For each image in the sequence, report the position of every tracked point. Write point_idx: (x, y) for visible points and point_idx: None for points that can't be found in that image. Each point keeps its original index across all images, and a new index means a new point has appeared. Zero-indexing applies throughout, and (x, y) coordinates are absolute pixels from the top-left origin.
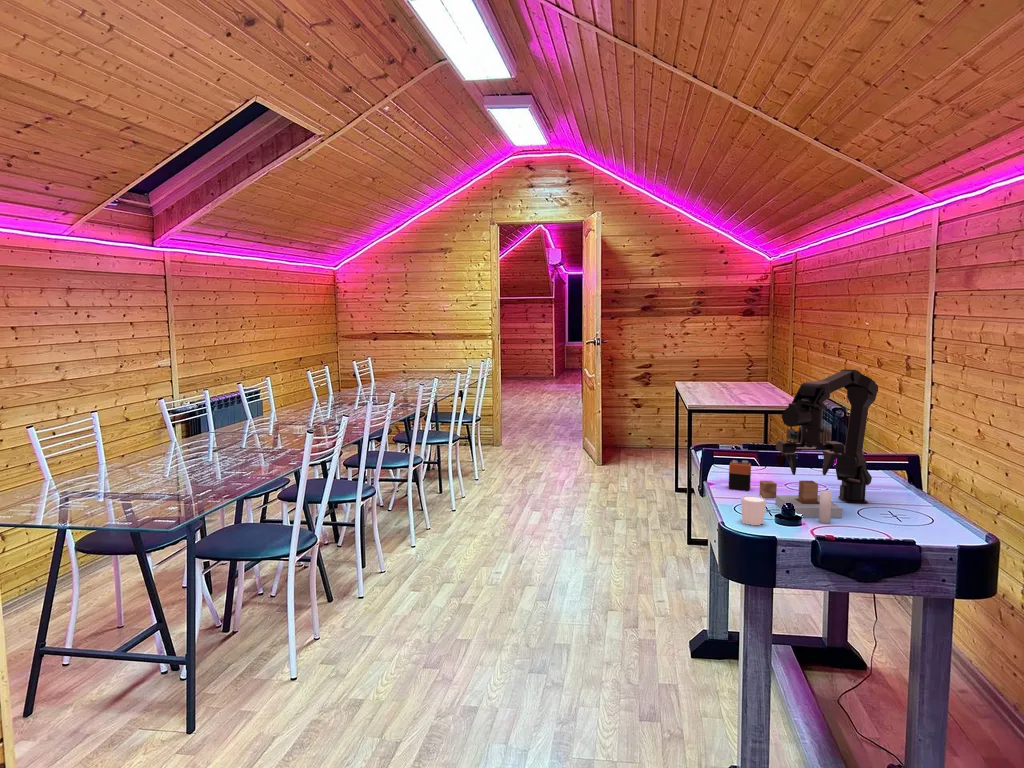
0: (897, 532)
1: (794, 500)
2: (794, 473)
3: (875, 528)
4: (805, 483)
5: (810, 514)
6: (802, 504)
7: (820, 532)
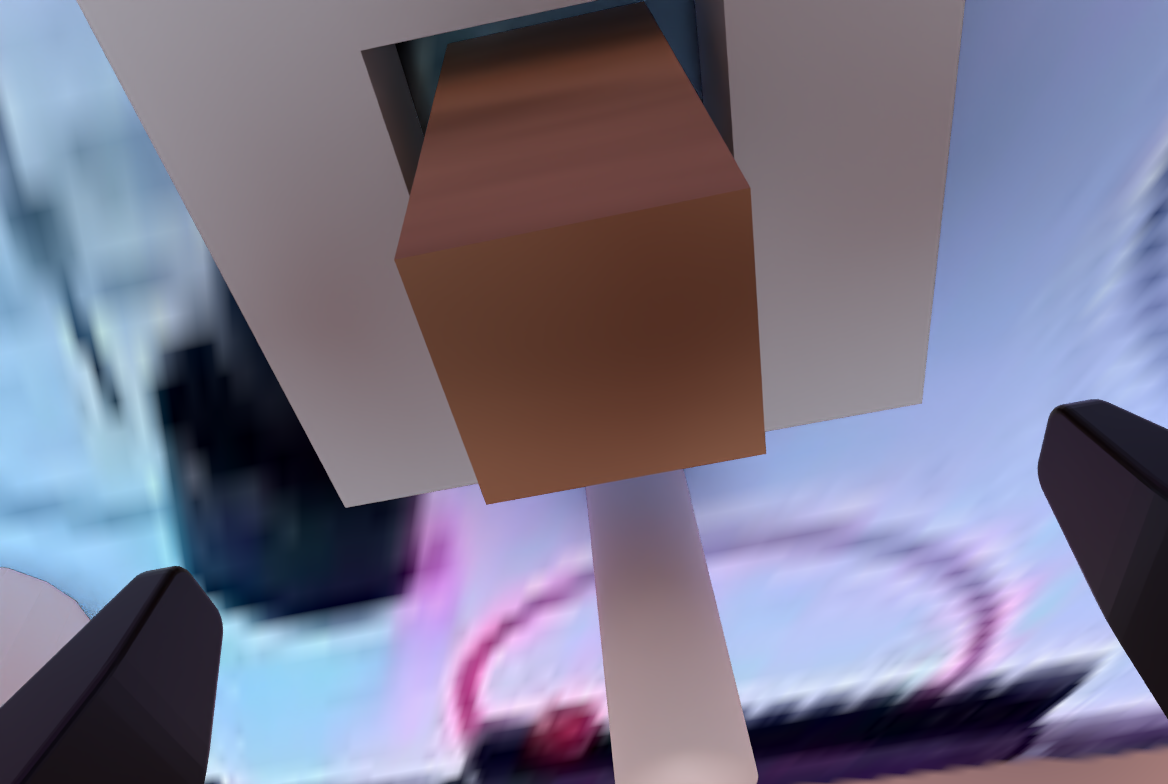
0: None
1: (363, 180)
2: (194, 679)
3: (1005, 534)
4: (502, 478)
5: None
6: None
7: (527, 681)
